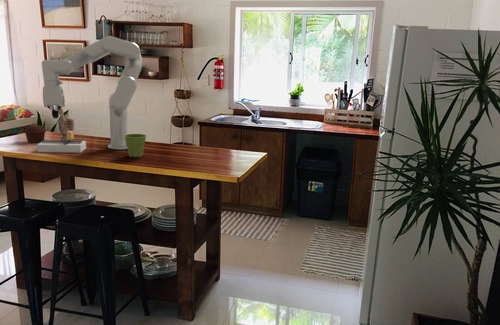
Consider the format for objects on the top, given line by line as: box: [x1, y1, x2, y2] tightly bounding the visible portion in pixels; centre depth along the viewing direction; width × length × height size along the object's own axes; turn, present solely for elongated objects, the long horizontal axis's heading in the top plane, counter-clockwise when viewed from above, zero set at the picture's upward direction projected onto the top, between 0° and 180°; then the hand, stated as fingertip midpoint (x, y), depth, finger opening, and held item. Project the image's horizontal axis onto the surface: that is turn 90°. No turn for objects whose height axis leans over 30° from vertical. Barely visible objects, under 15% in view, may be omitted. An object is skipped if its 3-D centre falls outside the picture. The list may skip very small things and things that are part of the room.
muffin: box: [23, 124, 47, 144], centre depth 249 cm, size 12×11×10 cm
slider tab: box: [66, 130, 75, 142], centre depth 232 cm, size 2×4×6 cm, turn 7°
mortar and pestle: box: [57, 107, 75, 141], centre depth 255 cm, size 12×9×20 cm
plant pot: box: [124, 133, 148, 158], centre depth 226 cm, size 12×12×11 cm
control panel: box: [36, 139, 87, 154], centre depth 233 cm, size 22×12×5 cm, turn 97°
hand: (55, 118), depth 229 cm, fingers closed
